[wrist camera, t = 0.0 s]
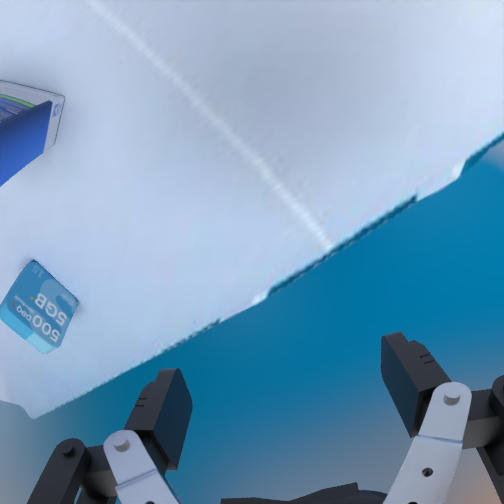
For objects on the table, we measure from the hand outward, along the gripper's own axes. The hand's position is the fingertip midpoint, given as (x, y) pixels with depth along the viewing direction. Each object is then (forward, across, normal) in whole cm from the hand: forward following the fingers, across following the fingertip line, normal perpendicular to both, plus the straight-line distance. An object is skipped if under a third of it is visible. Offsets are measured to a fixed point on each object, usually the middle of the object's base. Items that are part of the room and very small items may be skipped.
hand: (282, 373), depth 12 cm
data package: (+36, +40, +4) cm, 54 cm away
